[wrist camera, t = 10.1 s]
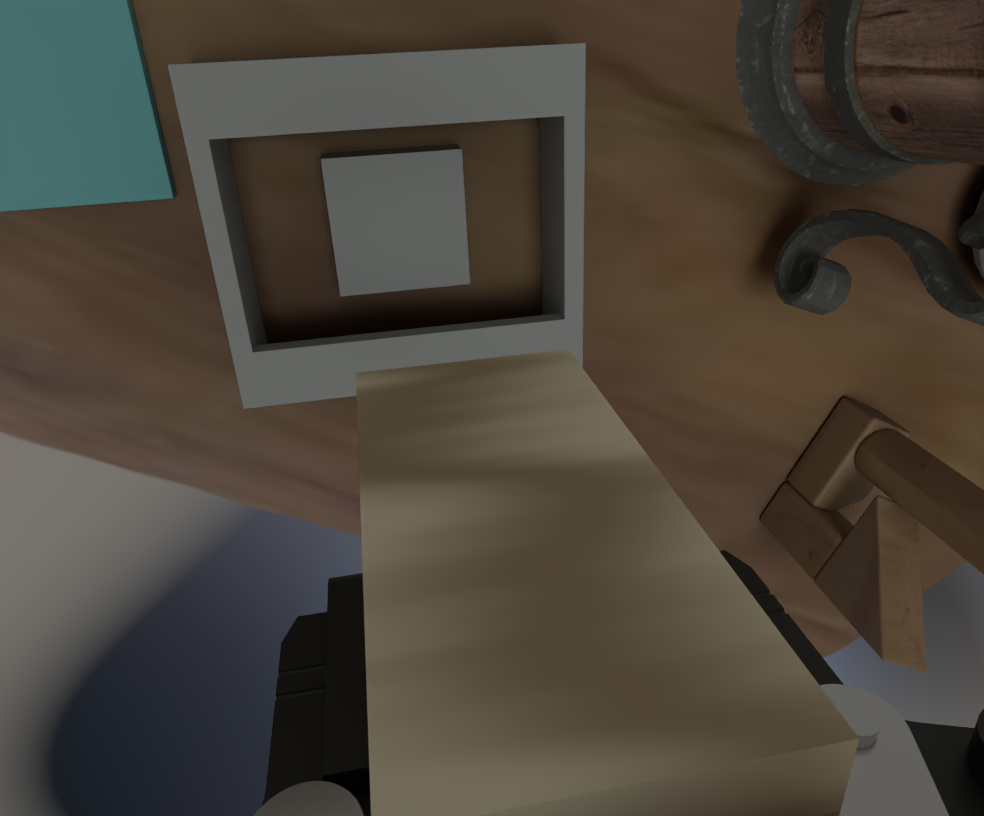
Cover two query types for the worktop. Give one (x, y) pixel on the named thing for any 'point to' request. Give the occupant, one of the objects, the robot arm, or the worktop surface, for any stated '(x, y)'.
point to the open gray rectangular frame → (388, 199)
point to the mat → (76, 107)
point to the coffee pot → (982, 256)
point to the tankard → (866, 123)
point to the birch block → (562, 617)
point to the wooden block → (874, 524)
